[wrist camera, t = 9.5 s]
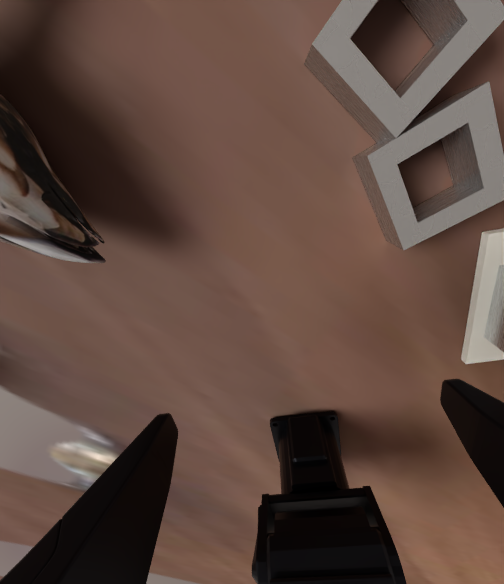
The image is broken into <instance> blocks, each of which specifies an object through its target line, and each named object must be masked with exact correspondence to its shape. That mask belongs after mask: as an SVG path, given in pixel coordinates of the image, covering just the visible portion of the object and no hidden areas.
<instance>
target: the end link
mask: <svg viewBox="0 0 504 584" xmlns="http://www.w3.org/2000/svg"><path fill="white" fill-rule="evenodd" d="M484 338H486V339H487V340H488V341H490V342H491V343H492V344H494V345H495V346H496V347H497V348H499V349H500V350H501V351H503V352H504V265H500V266H499V269H498V273H497V278H496V282H495V287H494V291H493V296H492V301H491V305H490V310H489V314H488V319H487V323H486V328H485V333H484Z"/></svg>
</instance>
